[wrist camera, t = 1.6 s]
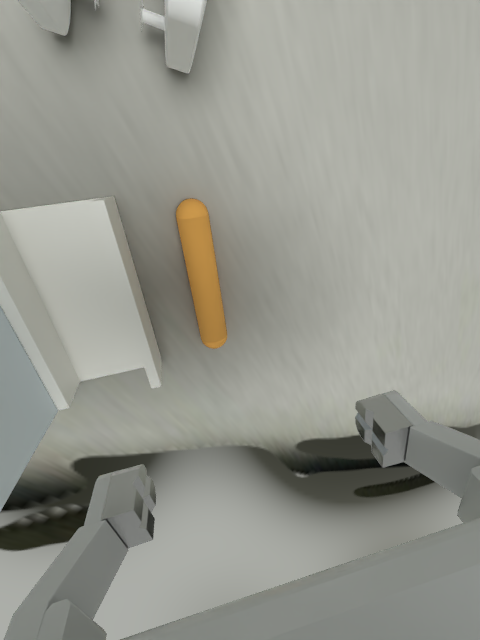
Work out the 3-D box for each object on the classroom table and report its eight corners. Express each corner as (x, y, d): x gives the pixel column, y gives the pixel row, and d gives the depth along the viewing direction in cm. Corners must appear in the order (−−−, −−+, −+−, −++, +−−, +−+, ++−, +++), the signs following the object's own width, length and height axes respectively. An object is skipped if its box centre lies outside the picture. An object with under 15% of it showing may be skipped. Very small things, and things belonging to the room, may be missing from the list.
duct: (72, 379, 33) (58, 410, 28) (-9, 212, 24) (-47, 220, 20) (161, 359, 34) (161, 386, 30) (114, 195, 26) (103, 199, 22)
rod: (201, 342, 35) (204, 356, 32) (172, 199, 27) (173, 202, 25) (226, 337, 35) (231, 350, 33) (203, 195, 28) (207, 197, 25)
